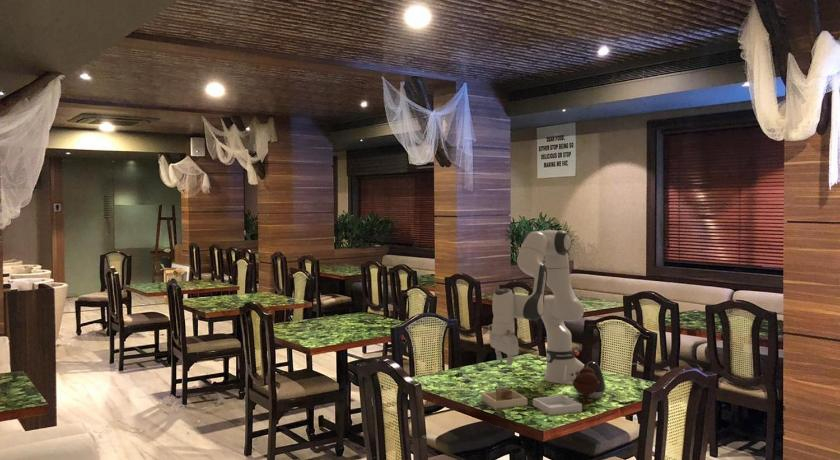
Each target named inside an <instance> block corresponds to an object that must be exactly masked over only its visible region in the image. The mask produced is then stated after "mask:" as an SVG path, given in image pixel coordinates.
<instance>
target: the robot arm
mask: <svg viewBox="0 0 840 460" xmlns="http://www.w3.org/2000/svg"><path fill="white" fill-rule="evenodd" d="M571 237H572V236H570V234H569V232H568V231H565V230H560V229H559V230H554V229H546V230H537V231H535V230H533V231H529V232H527V233H526V234H525V235H524V237H523V240H522V241H523V242H522V245H521V247H520V249H519V252H518V254H517V259H516V263H517V266H518V267H519V269H520V271H522V272H523V273H524V274H526V275H528V276H530V277H532V278H534V280H533V281H534V282H533V288H532V293H531V294H530V295H523V294H521V295H520V294H516V293H513V290H512V289H511V288H507V287H503V288H497V289H496V290H494V292H493V295H492V303H491V304H492V309H491V310H492V314H493V318H492V323H491V324H489V325H488V331H489V333H488V335H489V337H488V338H489V344H490V347H491V348H493V349H494V350H495V354H496V355H495V356H496V360H497V361H502V360H503V355H502V353H504V354H506V355H507V356H506V357H507V359H506V365H507V366H512V365H513V359H514V357H515V356H518V355H519V352H520V351H519V342H518V337H517V336H516V335H515V330H516V329H515V319H524V320H528V321H534V322H535V321H537V320H539V319H540V318H541V320H542V322H543V324H544V328H545V331H546V342H547V343H546V344H547V345H546V346H547V348H546V350H545V355H546V358H545V359H546V368H545V373H544V377H543V380H544V381H545V382H549V383H554V384H555V383H556V384H565V385H573V380H574V379H575V378H576V376H577V375H578V374H580V370H581V369H582V368H584V365H585V364H584V363H583V362H582V361H580V360H579V359H578V358H577V357H578V356H579V355H580V352H579V351H578V350H574V349H572V332H571V331H570V330H569V328H567V326H566V325H565V322H569V323H571V322H578V321H580V320H581V319H582V318H583V316H584V313H585V307H584V305H583V303H582V301H580V299H578V297H577V295H576V294H575V291H574V289H573V287H572V283H571V277H570V262H569V255H568V253H569V251H570V250H571V247H572V238H571ZM546 287H548V288H549V289H550V291H551V292H552V294H553V295H550V294H549V295H548V294H547V295H546ZM576 356H577V357H576Z"/></svg>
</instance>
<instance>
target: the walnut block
mask: <svg viewBox="0 0 840 460" xmlns="http://www.w3.org/2000/svg"><path fill="white" fill-rule="evenodd" d="M511 390H512V389H509V388H508V387H504V388H495V391H496V401H501V400H511V399H512V391H511Z"/></svg>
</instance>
